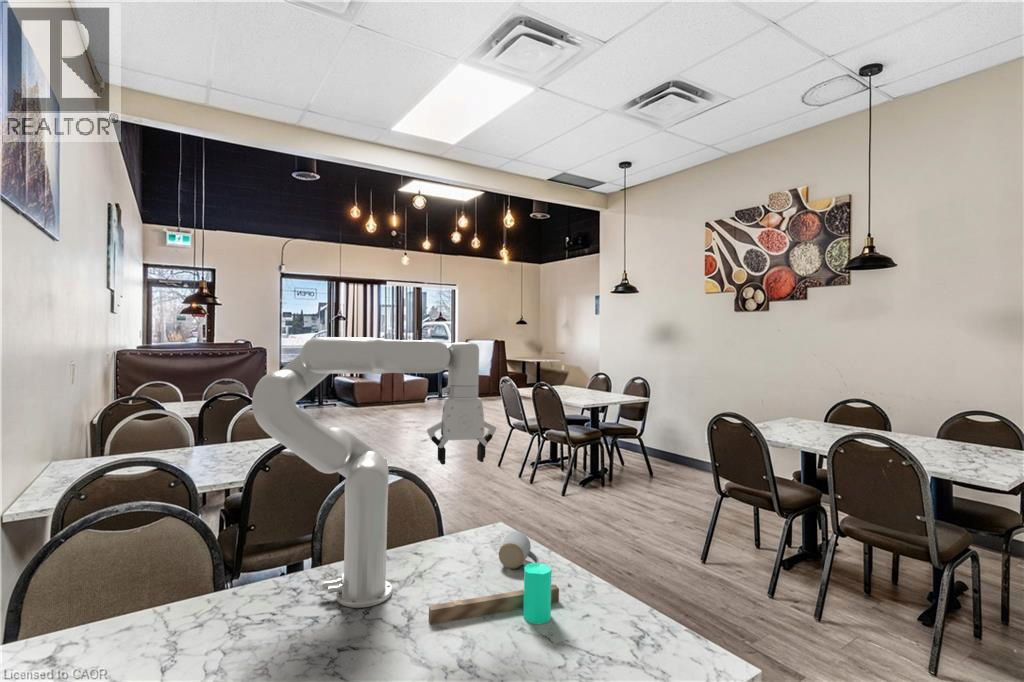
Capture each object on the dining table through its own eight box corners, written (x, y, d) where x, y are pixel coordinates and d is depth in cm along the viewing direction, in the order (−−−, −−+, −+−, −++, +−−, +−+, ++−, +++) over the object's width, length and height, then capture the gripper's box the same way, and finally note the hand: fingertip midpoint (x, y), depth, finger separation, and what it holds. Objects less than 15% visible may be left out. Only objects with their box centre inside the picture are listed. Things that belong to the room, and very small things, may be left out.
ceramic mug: (496, 569, 132) (497, 539, 132) (503, 556, 140) (504, 529, 140) (536, 574, 130) (537, 544, 130) (541, 561, 138) (542, 533, 138)
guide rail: (430, 624, 105) (430, 609, 105) (428, 619, 107) (429, 604, 107) (558, 601, 115) (559, 587, 116) (555, 597, 117) (555, 583, 117)
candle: (548, 625, 105) (549, 568, 105) (520, 621, 106) (521, 565, 107) (552, 611, 111) (553, 557, 111) (526, 607, 112) (527, 554, 113)
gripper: (431, 394, 116) (429, 468, 116) (501, 393, 122) (499, 463, 122) (425, 391, 123) (423, 461, 123) (491, 390, 129) (490, 457, 129)
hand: (461, 462), depth 122 cm, fingers open, 9 cm apart
